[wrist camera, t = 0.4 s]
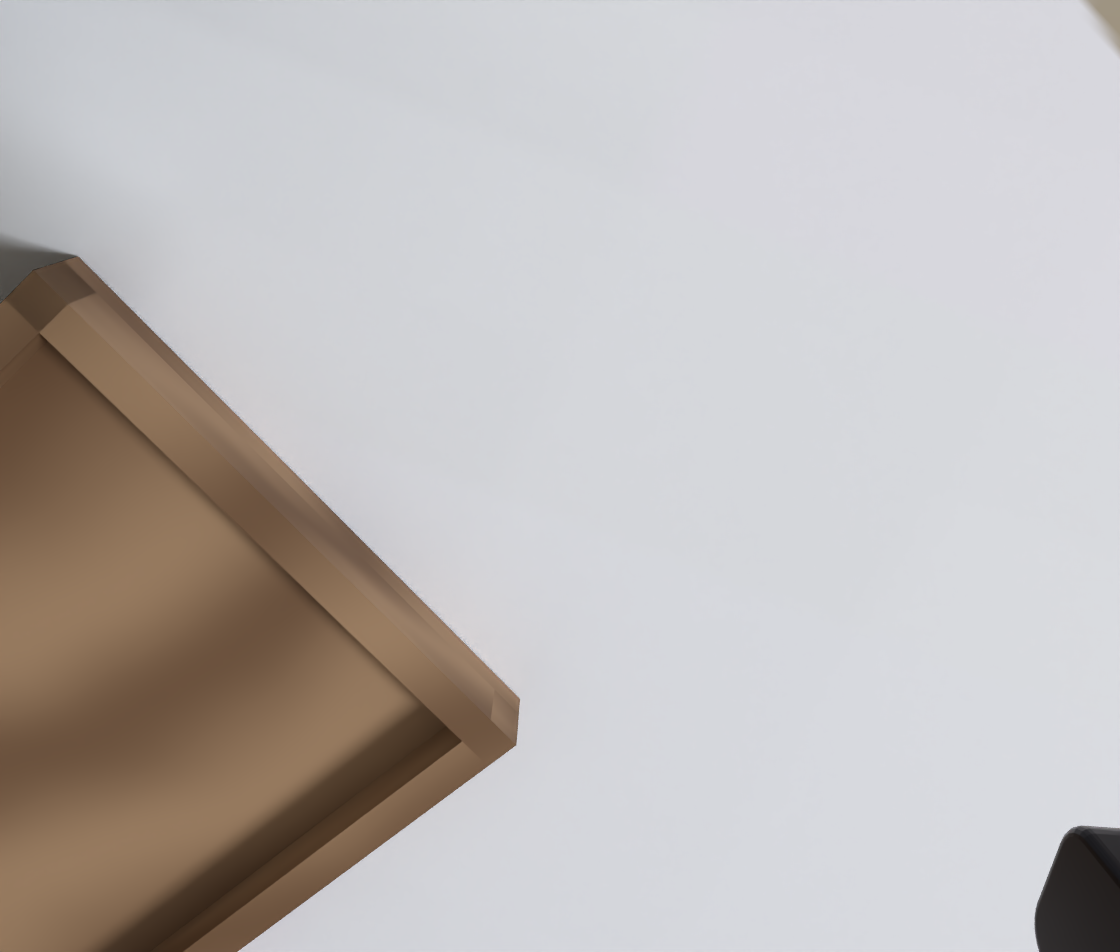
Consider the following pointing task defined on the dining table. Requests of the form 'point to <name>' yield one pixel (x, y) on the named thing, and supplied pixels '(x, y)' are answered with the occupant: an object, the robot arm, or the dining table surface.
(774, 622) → the dining table surface
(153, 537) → the tray
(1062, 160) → the dining table surface
